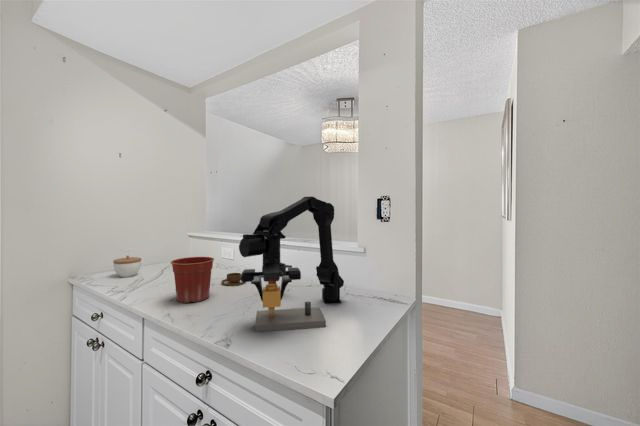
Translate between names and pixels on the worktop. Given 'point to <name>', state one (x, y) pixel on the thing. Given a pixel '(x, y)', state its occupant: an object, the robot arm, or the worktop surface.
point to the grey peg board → (289, 318)
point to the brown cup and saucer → (232, 279)
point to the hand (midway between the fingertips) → (271, 300)
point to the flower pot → (192, 278)
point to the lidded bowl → (127, 266)
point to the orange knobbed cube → (271, 296)
